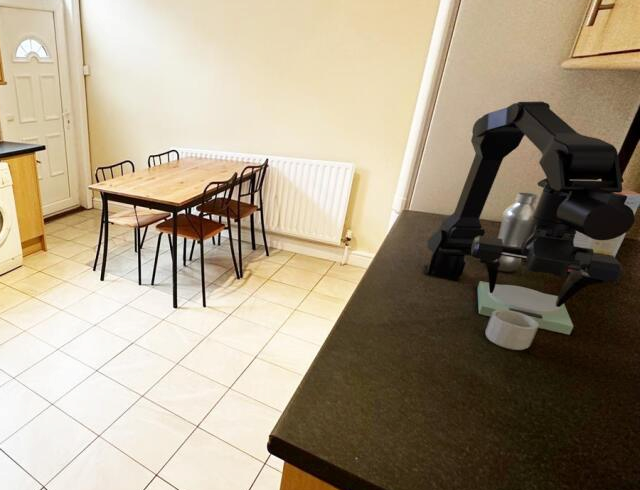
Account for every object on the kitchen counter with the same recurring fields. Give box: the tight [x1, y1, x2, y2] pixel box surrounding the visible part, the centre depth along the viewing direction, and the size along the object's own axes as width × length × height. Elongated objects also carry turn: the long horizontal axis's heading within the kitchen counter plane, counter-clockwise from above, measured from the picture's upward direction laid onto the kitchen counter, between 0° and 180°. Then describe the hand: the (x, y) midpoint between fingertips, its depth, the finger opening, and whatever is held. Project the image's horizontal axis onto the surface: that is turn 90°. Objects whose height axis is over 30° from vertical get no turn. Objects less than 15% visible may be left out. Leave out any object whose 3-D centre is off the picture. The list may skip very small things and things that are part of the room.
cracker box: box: [567, 188, 640, 273], centre depth 103 cm, size 14×6×21 cm, turn 65°
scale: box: [477, 280, 574, 336], centre depth 89 cm, size 14×14×3 cm
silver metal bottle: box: [497, 192, 538, 272], centre depth 104 cm, size 6×7×20 cm
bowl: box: [484, 310, 539, 351], centre depth 79 cm, size 7×7×5 cm
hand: (522, 298), depth 76 cm, fingers open, 9 cm apart
